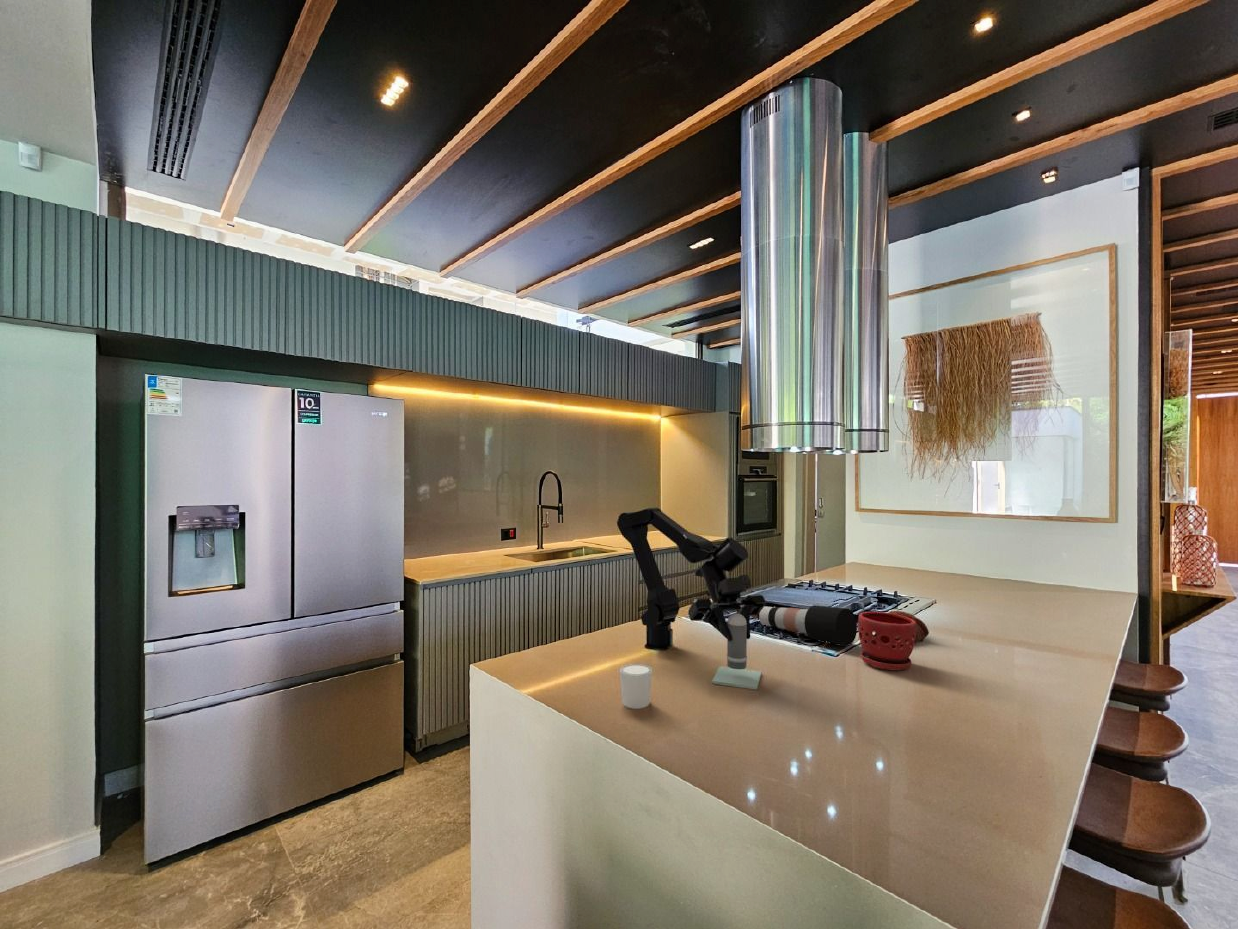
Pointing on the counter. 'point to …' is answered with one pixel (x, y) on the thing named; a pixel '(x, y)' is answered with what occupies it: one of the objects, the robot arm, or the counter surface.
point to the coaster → (737, 677)
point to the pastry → (920, 626)
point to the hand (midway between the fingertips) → (739, 639)
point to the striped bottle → (813, 622)
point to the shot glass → (635, 685)
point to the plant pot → (886, 639)
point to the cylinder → (737, 642)
